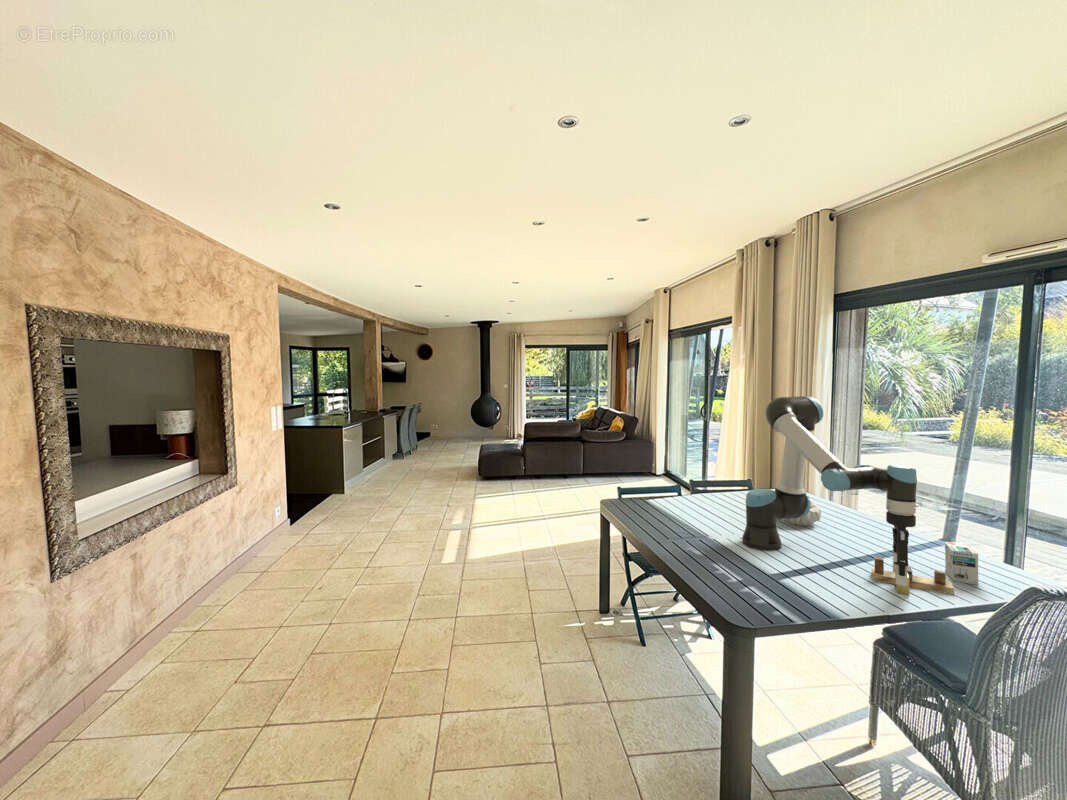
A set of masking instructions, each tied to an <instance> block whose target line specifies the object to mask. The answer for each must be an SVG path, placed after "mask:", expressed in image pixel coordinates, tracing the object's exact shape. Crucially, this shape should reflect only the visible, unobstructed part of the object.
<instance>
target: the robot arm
mask: <svg viewBox="0 0 1067 800" xmlns="http://www.w3.org/2000/svg"><path fill="white" fill-rule="evenodd" d="M765 418H766V421H767V423H768V424H769V426H770V427H771V428H772V429H773V431H775V432H777V433H780V434H781V435H782V436H783V437H784V445H783V452H782V453H783V455H782V463H781V471H780V479H779V482H778V483H776V484H775V487H774V490H773V489H770V488H769V489H768V488H762V489H761V488H759V489H758V488H755V489H752V490H749V491H748V492H747V493H746V496H745V497H746V498H745V510H746V511H745V513H746V514H745V515H746V517H745V520H746V524H745V528H744V530H743V535H742V537H741V538H742V539H741V541H742V545H744V546H746V547H747V548H751V549H754V550H759V551H768V552H769V551H778V550H781V548H782V540H781V537H780V535H779V531H778V529H777V521H778V520H784V519H796V518H799V517H803V516H805V515H807V514H808V512H809V510H810V507H811V503H812V502H811V500H810V497H809V495H808V493H807V490H806V489H805V488H804V487H803V485H804V477H805V470H806V461H807V462H809V463H810V464H811V466H813V467H814V468H815V469H816V471H817V472H819V474H820V481H821V482H822V486H823V487H824V488H825V489H826V490H828V491H831V492H845V491H854V490H868V489H869V490H870V489H871V490H872V489H873V490H878V491H882V492H886V499H885V500H886V501H885V502H886V503H885V504H886V505H885V506H886V507H885V509H886V510H887V511H886V512H885V514H886V515H885V517H886V518H885V521H886V523H888V524H890V525H891V526H893V527H892V539H893V540H892V541H893V543H892V551H893V552H892V572H895V568H896V584H898V585H903V586H907V566H908V567H909V554H908V553H909V552H908V550H909V548H908V546H909V537H910V533H909V531H908V529H907V528H915V527H916V525H917V516H916V511H917V509H916V508H919V504H917V497H916V496H917V485H918V479H917V469H916V468H915V467H914V466H910V465H904V464H889V465H887V467H886V468H882V467H877V466H874V465H873V466H872V465H868V464H867V465H866V464H857V465H856V466H854V467H847V466H846V465H845V464H843V463H842V462H841V461H840V460H839V459H838V458H837V456H835V455H834V454H833V453H832V452H831V451H829V449H828V448H826V446H824V444H823V443H821V441H819V440H818V439H817V438H816V437H815V436H814V435H813V434H812V432H814V431H815V428H816V427H815V426H816V424H818V423H820V422H821V421H823V418H824V409H823V406H822V404H821V403H820V401H819V400H818V399H816V397H811V396H782V397H780V396H779V397H776V398H774V399H773V400H771V401H770V402H769V403H768V404H767V406H766V408H765Z"/></svg>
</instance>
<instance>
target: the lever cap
mask: <svg viewBox="0 0 1067 800" xmlns="http://www.w3.org/2000/svg"><path fill="white" fill-rule="evenodd" d="M894 586H895V589H896V593H897V594H898V595H902V596H907V597H910V586H909V576H908V573H907V586H903V585H898V584H896V568H895V584H894Z"/></svg>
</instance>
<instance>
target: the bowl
mask: <svg viewBox="0 0 1067 800" xmlns="http://www.w3.org/2000/svg"><path fill="white" fill-rule="evenodd" d="M821 512H822V511H821V507H820V506H819V505H818V504H817V503H815V502H811V507H810V510H809V512H808V514H807V515H805V516H803V517H799V518H796V519H783V521H785V522H787V523H789V524H793V525H796V524H797V526H811V525H812V524H814V523H816V522H820V520H821V518H822V517H821V514H822V513H821Z"/></svg>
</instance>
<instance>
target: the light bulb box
mask: <svg viewBox="0 0 1067 800" xmlns="http://www.w3.org/2000/svg"><path fill="white" fill-rule="evenodd" d="M944 551H945V553H944V556H945V559H944V561H945V562H944V563H945V568H944V569H945V570H944V572H945V573H946V574H947V575H948V577H950V579H951V581H952V582H957V583H958V582H959V583H964V584H970V585H977V586H979V553H977V552H976V551H975V550H974V549H973V548H972V547H971V546H970V545H969V544H965V543H956V542H949V541H945V542H944Z"/></svg>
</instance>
